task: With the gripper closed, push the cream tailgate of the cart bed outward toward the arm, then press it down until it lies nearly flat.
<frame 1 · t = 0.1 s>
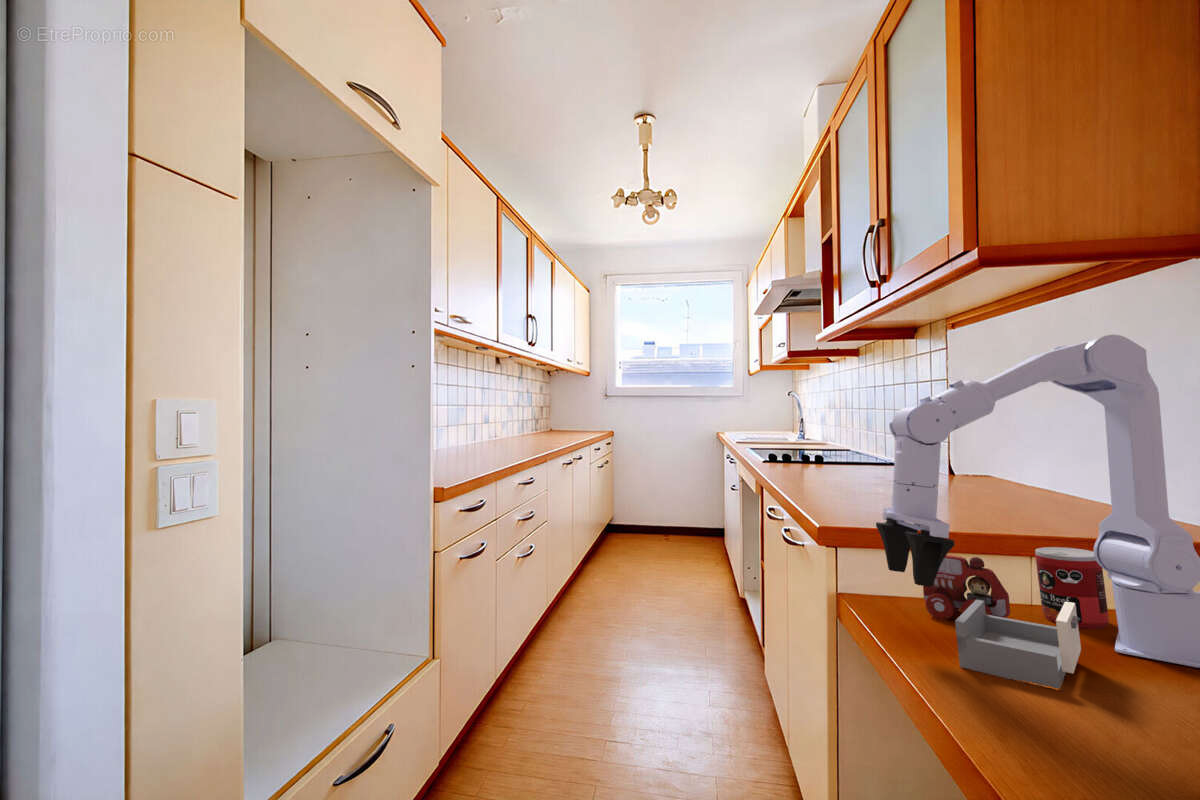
hand: (909, 577, 74), 10 cm above the countertop, tool pointing down, fingers open, 7 cm apart
canned food: (1075, 622, 81), on the countertop
cart bed: (1015, 663, 68), on the countertop
tailgate: (1071, 635, 64), point 5 cm above the countertop, hinge at 0.0°
toy fire truck: (965, 619, 85), on the countertop
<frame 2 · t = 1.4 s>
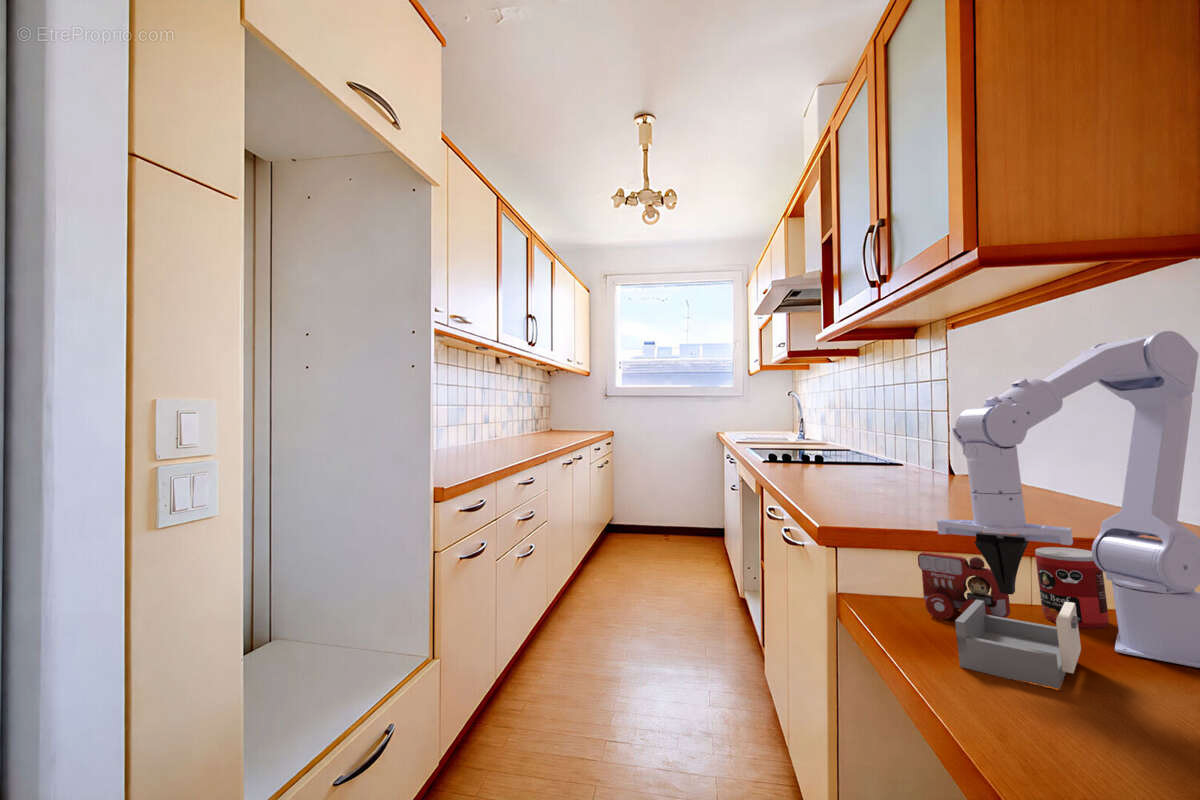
hand: (1007, 592, 69), 9 cm above the countertop, tool pointing down, fingers closed
nothing on the countertop moved.
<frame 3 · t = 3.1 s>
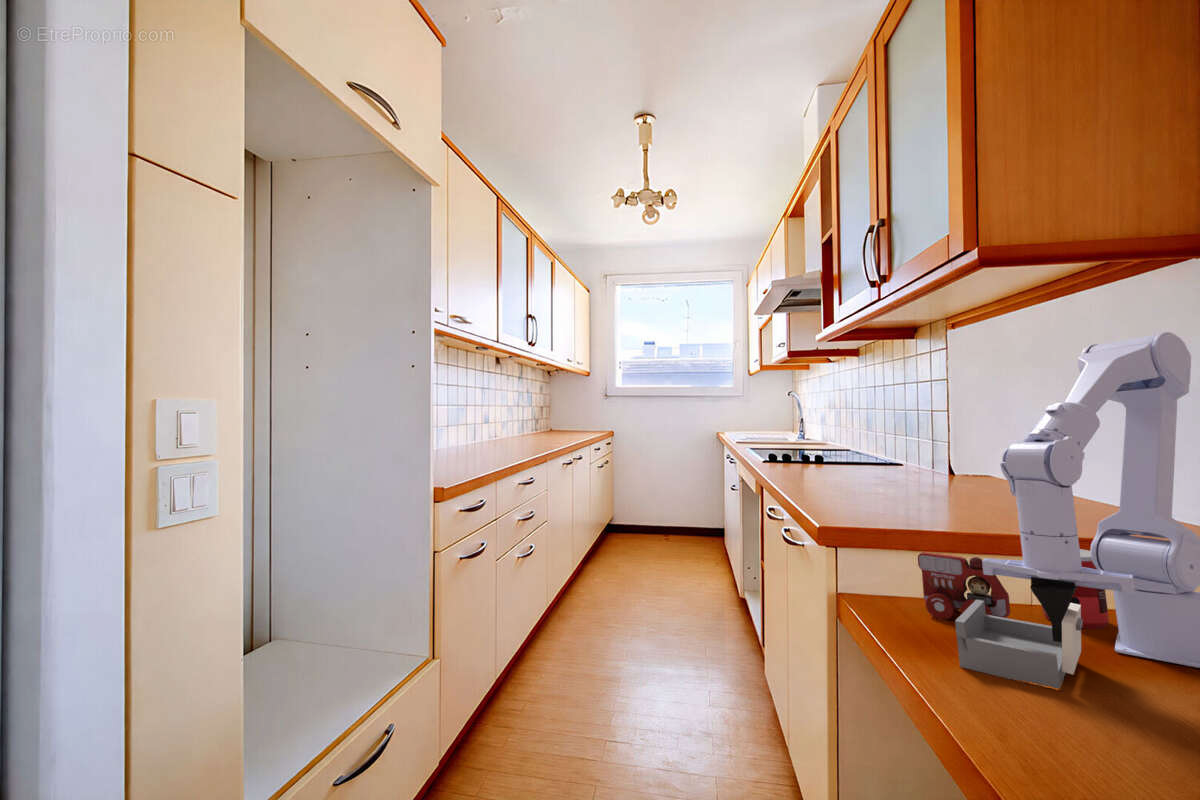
hand: (1060, 640, 65), 4 cm above the countertop, tool pointing down, fingers closed, pressing on tailgate
tailgate: (1074, 637, 64), point 5 cm above the countertop, hinge at 5.3°, touching gripper
everything else where it was.
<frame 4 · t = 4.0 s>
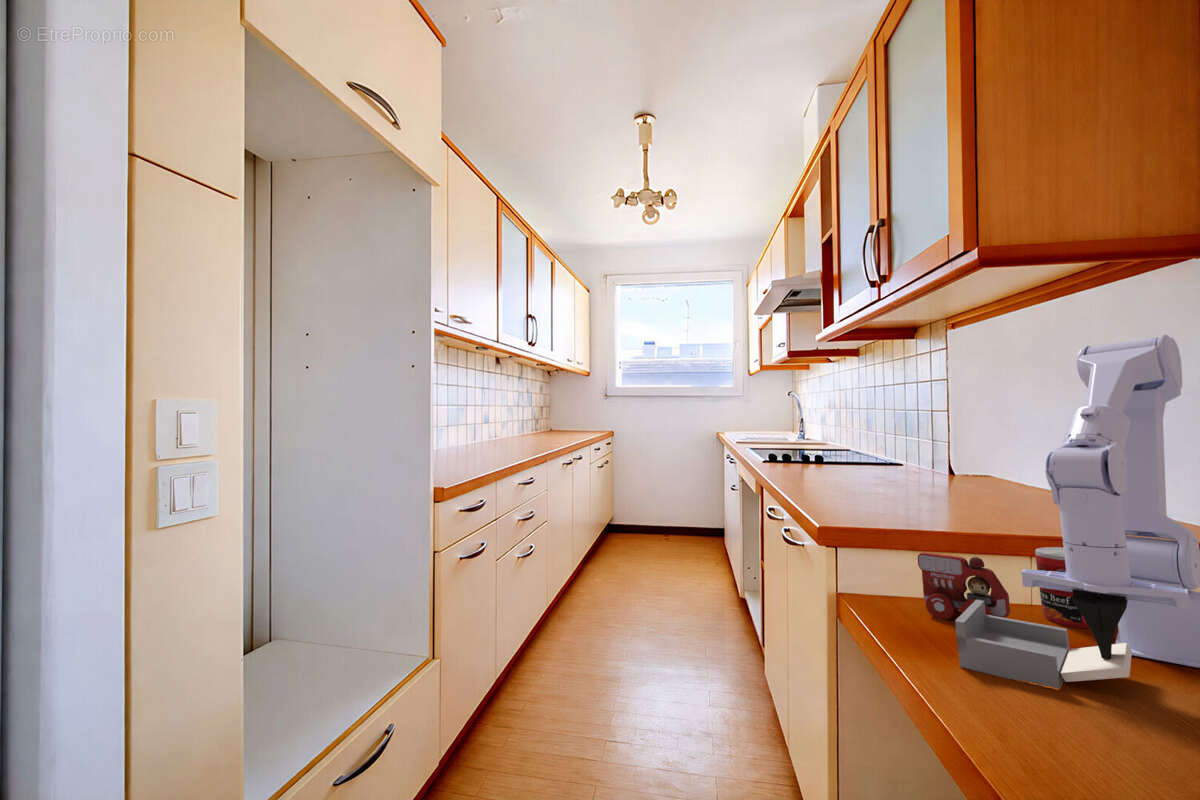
hand: (1107, 657, 61), 3 cm above the countertop, tool pointing down, fingers closed, pressing on tailgate
tailgate: (1097, 663, 62), point 2 cm above the countertop, hinge at 68.3°, touching gripper
everything else where it was.
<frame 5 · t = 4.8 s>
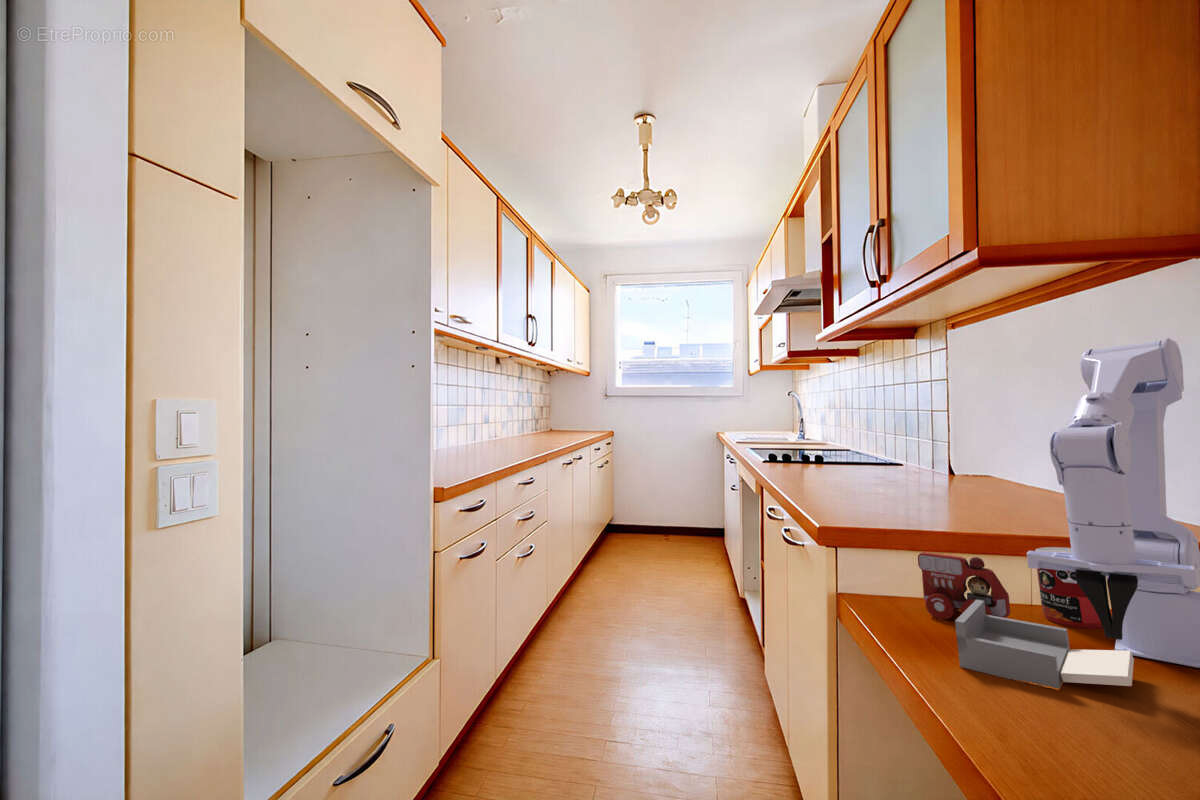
hand: (1114, 636, 61), 6 cm above the countertop, tool pointing down, fingers closed
tailgate: (1098, 667, 62), point 2 cm above the countertop, hinge at 77.2°
everything else where it was.
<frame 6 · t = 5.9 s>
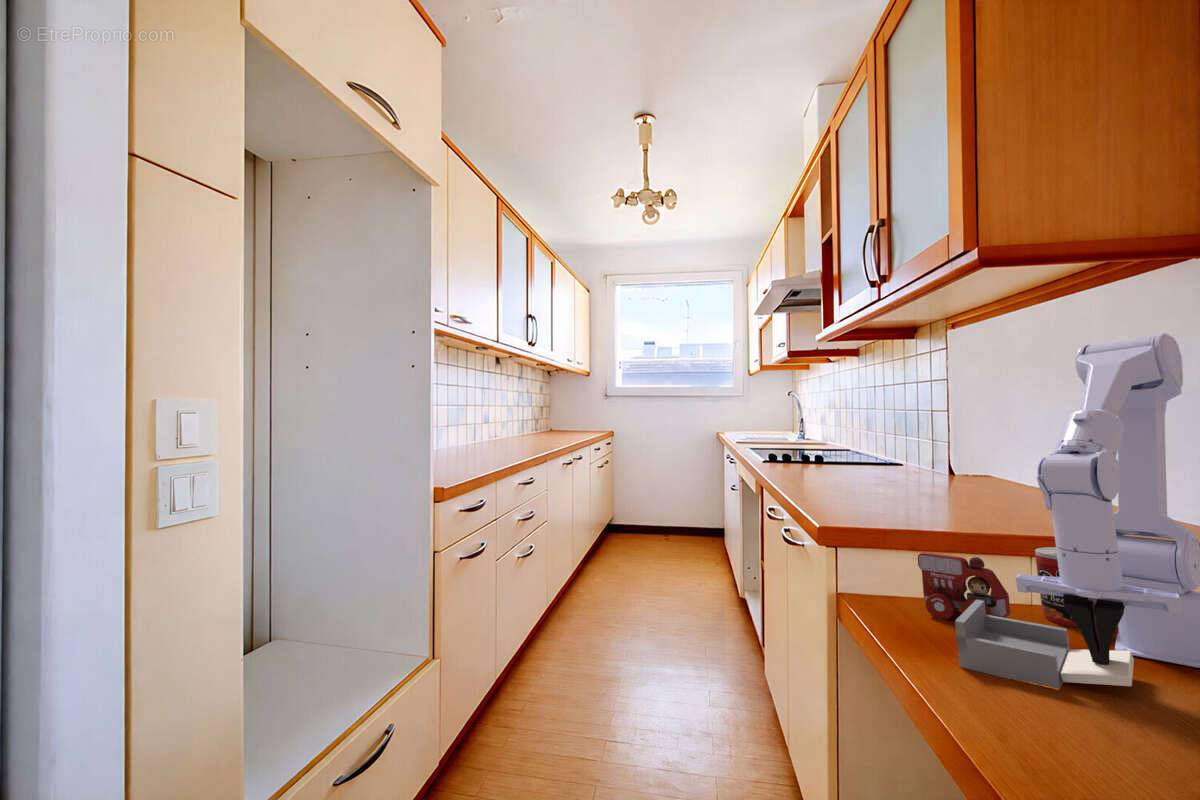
hand: (1101, 661, 62), 3 cm above the countertop, tool pointing down, fingers closed, pressing on tailgate
tailgate: (1098, 667, 62), point 2 cm above the countertop, hinge at 77.3°, touching gripper
everything else where it was.
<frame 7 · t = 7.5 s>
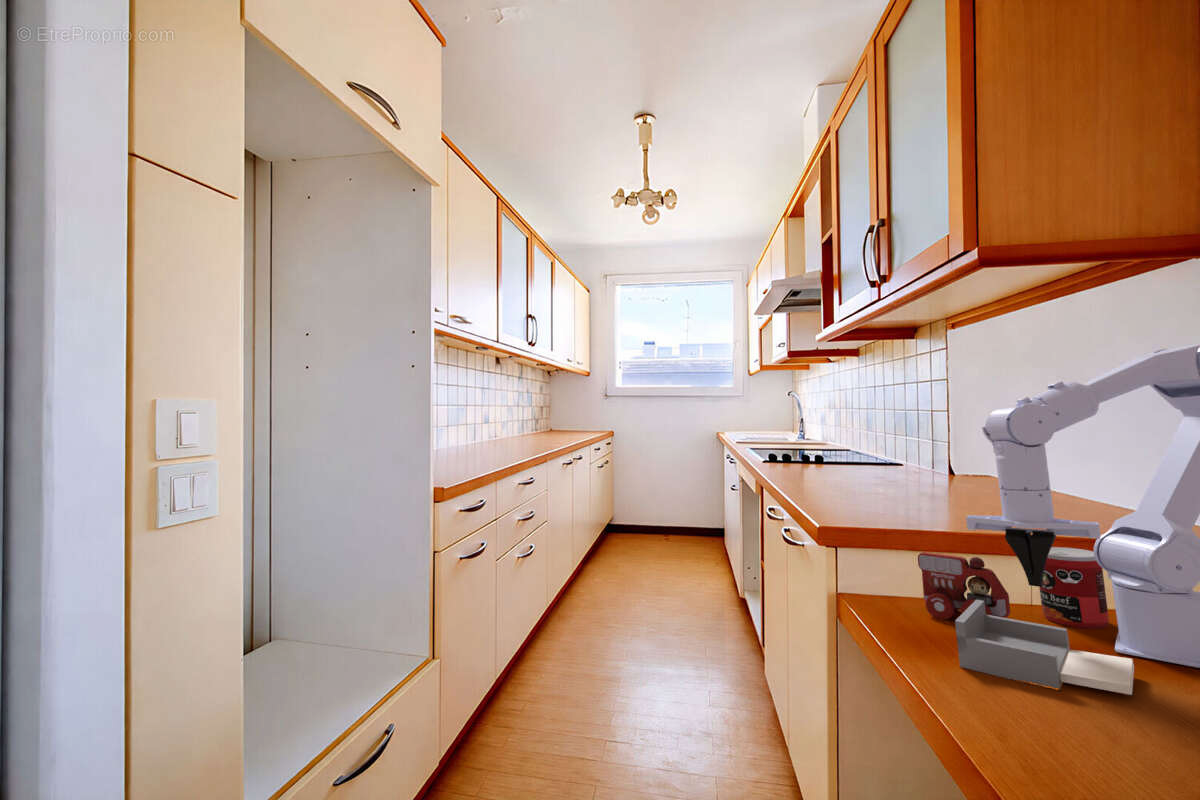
hand: (1036, 584, 72), 9 cm above the countertop, tool pointing down, fingers closed
tailgate: (1097, 671, 62), point 1 cm above the countertop, hinge at 86.4°
everything else where it was.
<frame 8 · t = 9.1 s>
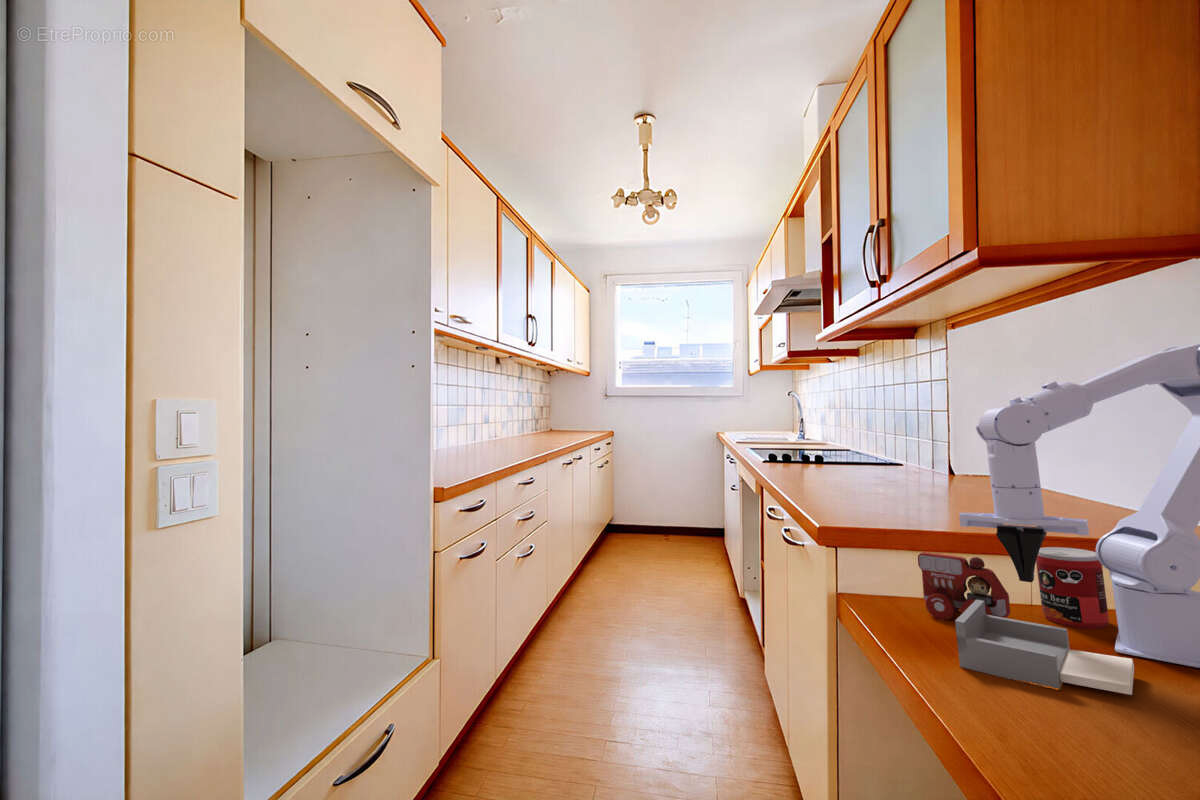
hand: (1026, 580, 73), 9 cm above the countertop, tool pointing down, fingers closed
nothing on the countertop moved.
at the end: tailgate at +86° (first picture: +0°); toy fire truck moved 0.3 cm from its start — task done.
